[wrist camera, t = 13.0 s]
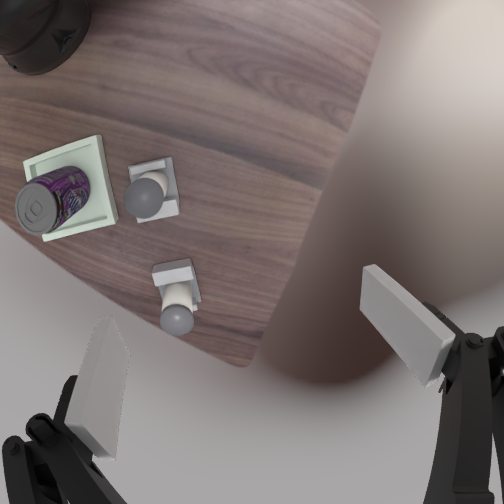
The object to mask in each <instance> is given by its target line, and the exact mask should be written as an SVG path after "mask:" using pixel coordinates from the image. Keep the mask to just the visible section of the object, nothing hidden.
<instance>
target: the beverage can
mask: <svg viewBox="0 0 504 504" xmlns="http://www.w3.org/2000/svg"><path fill="white" fill-rule="evenodd" d="M89 195H90V184H89V180H88V178H87V176H86V175H85V173H84V172H83V171H82V170H81V169H79V168H77V167H75V166H64V167H61V168H59V169H56V170H53V171H50V172H48V173H45V174H42V175H40V176H37V177H35V178H33V179H31V180H29V181H28V182H27V183H26V184H25V186H24V187H23V188H22V189H21V190H20V191H19V193H18V195H17V197H16V201H15V213H16V217H17V220H18V222H19V224H20V225H21V227H22V228H23V229H24V230H25V231H26V232H28V233H30V234H32V235H43V234H47V233H51V232H53V231H55V230H56V229H57V228H59V227H60V226H61V225H62V224H63V223H64V222H66V221H67V220H68V219H69V218H71V217H72V216H73V215H74V214H75V213H77V212H78V211H79V210H81V209H82V208H83V207H84V206H85V204H86V203H87V201H88V199H89Z"/></svg>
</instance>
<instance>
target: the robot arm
mask: <svg viewBox="0 0 504 504" xmlns="http://www.w3.org/2000/svg"><path fill="white" fill-rule="evenodd" d="M90 18H91V11H90V6H89V4H88V2H87V0H0V54H1V55H2V56H3V57H4V59H5V60H6V61H7V62H8V64H9V65H10V66H11V67H12V68H13V69H14V70H16V71H18V72H20V73H24V74H28V75H38V74H42V73H45V72H48V71H50V70H52V69H54V68H56V67H57V66H59V65H60V64H62V63H63V62H64V61H65V60H66V59H68V58H69V57H70V56H71V55H72V54H73V52H74V51H75V50H76V49H77V48H78V46H79V45H80V43H81V42H82V40H83V38H84V37H85V35H86V32H87V30H88V27H89V24H90ZM360 310H361V311H362V312H363V314H364V315H365V316H366V317H367V318H368V319H369V321H370V322H371V323H372V324H373V325H374V326H375V328H376V329H377V330H378V331H379V332H380V333H381V335H382V336H383V337H384V338H385V339H386V341H387V342H388V343H389V344H390V345H391V346H392V348H393V349H394V350H395V351H396V352H397V354H398V355H399V356H400V357H401V359H402V360H403V361H404V362H405V364H406V365H407V366H408V367H409V368H410V370H411V371H412V372H413V373H414V375H415V376H416V377H417V378H418V379H419V381H420V382H421V383H422V385H423V386H424V387H427V386H429V385H431V384H432V383H435V382H436V381H437V380H438V378H439V376H440V374H441V372H442V373H443V374H444V375H445V378H444V381H443V382H442V385H441V387H440V389H439V393H440V392H441V390H442V389H443V395H442V407H441V415H440V424H439V432H438V438H437V444H436V450H435V456H434V461H433V466H432V471H431V475H430V480H429V483H428V487H427V491H426V495H425V499H424V502H423V504H494V498H495V497H494V494H493V493H492V492H490V491H489V489H488V485H489V477H490V467H491V454H492V432H493V437H494V441H495V447H496V452H497V457H498V464H499V471H500V479H501V488H502V499H503V504H504V374H503V372H502V371H503V369H504V326H502V327H499V328H498V329H497V330H496V332H495V335H494V336H493V337H489V338H484V339H483V338H482V337H481V336H480V335H478V334H475V333H466V334H465V333H464V332H463V331H462V330H460V329H459V328H458V327H457V326H456V325H455V324H454V323H453V322H452V321H450V320H449V319H448V318H446V316H445V315H443V313H441V312H440V311H439V310H438V309H437V308H436V307H434V306H433V305H431V304H429V303H427V302H423V303H420V302H419V301H418V300H417V299H416V298H414V297H413V296H412V295H411V294H410V293H409V292H407V291H406V290H405V289H404V288H403V287H402V286H400V285H399V284H398V283H397V282H396V281H395V280H393V279H392V278H391V277H390V276H389V275H387V274H386V273H385V272H384V271H383V270H381V269H380V268H379V267H378V266H377V265H375V264H374V265H370V266H366V267H363V278H362V290H361V301H360ZM129 359H130V354H129V352H128V350H127V348H126V345H125V343H124V341H123V339H122V337H121V334H120V332H119V330H118V328H117V325H116V323H115V320H114V318H113V316H112V315H111V316H104V317H99V319H98V322H97V324H96V327H95V329H94V332H93V335H92V337H91V340H90V343H89V345H88V348H87V351H86V353H85V356H84V359H83V363H82V365H81V368H80V371H79V374H78V375H73V376H70V378H69V379H68V380H67V381H66V383H65V384H64V387H63V390H62V394H61V397H60V399H59V400H60V401H59V403H58V406H57V409H56V412H55V415H54V419H53V420H52V419H51V418H50V417H49V415H47V414H45V413H39V414H36V415H34V416H33V417H32V418H30V419H29V421H28V423H27V425H26V434H27V435H28V436H29V437H30V438H31V439H32V440H33V441H28V442H24V441H23V440H22V439H21V438H20V437H19V436H11V437H9V438H7V439H6V441H5V442H4V444H3V446H2V455H3V466H4V474H5V481H6V487H7V493H8V498H9V503H10V504H68V501H69V503H70V504H127V503H126V502H125V501H124V500H123V498H122V497H121V496H120V495H119V494H118V493H117V491H116V490H115V489H114V488H113V486H112V485H111V484H110V483H109V481H108V480H107V479H106V478H105V476H104V475H103V474H102V472H101V471H100V470H99V469H98V467H97V466H96V464H95V463H94V462H93V461H92V455H93V454H94V455H95V456H96V457H97V458H98V459H99V460H116V450H117V441H118V432H119V423H120V415H121V409H122V401H123V395H124V389H125V382H126V377H127V371H128V365H129ZM67 500H68V501H67Z"/></svg>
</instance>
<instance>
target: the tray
mask: <svg viewBox="0 0 504 504" xmlns="http://www.w3.org/2000/svg"><path fill="white" fill-rule="evenodd" d="M23 164H24V169H25V174H26V178H27V182H28V181H29V180H31V179H33V178H35V177H37V176H40V175H42V174H45V173H48V172H50V171H53V170H56V169H59V168H61V167H64V166H75V167H77V168H79V169H81V170H82V171H83V172H84V173H85V175H86V176H87V178H88V180H89V184H90V195H89V199H88V201H87V203H86V204H85V206H84V207H83V208H82V209H81V210H79V211H78V212H77V213H75V214H74V215H73V216H72V217H71V218H69V219H68V220H67V221H66V222H64V223H63V224H62V225H61V226H60V227H59V228H57V229H56V230H55V231H53V232H51V233H47V234H43V235H42V237H43V240H44V242H45V241H49V240H53V239H57V238H60V237H64V236H68V235H72V234H76V233H80V232H84V231H88V230H92V229H96V228H100V227H104V226H108V225H113V224H116V222H117V221H118V220H119V216H118V212H117V208H116V204H115V200H114V196H113V192H112V187H111V183H110V178H109V173H108V168H107V163H106V158H105V153H104V147H103V142H102V136H101V135H95V136H91V137H88V138H85V139H82V140H79V141H76V142H73V143H70V144H67V145H64V146H62V147H59V148H56V149H53V150H51V151H48V152H45V153H43V154H40V155H38V156H35V157H33V158H30V159H28V160H26V161H23Z"/></svg>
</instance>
